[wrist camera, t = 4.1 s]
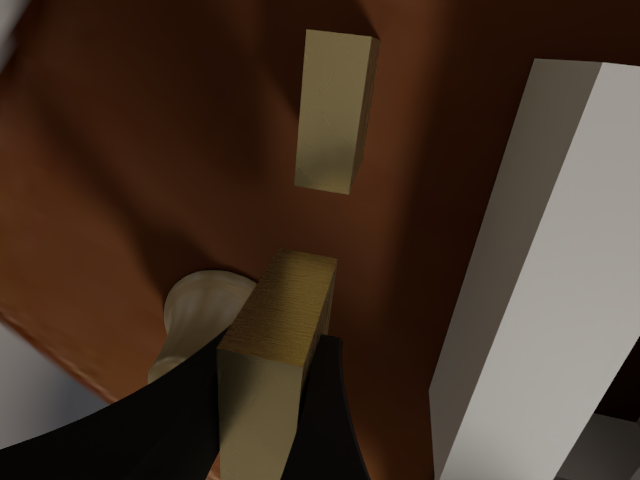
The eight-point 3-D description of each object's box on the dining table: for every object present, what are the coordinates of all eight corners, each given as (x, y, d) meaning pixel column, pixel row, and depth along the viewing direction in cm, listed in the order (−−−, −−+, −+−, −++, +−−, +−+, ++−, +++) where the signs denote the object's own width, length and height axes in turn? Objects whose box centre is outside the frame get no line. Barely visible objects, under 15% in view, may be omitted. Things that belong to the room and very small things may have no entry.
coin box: (646, 439, 22) (724, 563, 17) (428, 389, 23) (435, 489, 18) (892, 99, 14) (1197, 130, 8) (534, 58, 15) (603, 62, 10)
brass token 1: (322, 369, 15) (289, 500, 11) (273, 358, 16) (220, 482, 11) (337, 258, 13) (303, 367, 9) (279, 247, 13) (216, 348, 9)
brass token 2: (362, 160, 18) (348, 194, 14) (320, 153, 19) (294, 185, 14) (380, 41, 16) (371, 36, 12) (333, 35, 16) (306, 29, 12)
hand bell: (281, 392, 26) (134, 799, 12) (165, 356, 27) (-107, 699, 13) (305, 292, 22) (128, 714, 8) (168, 251, 23) (-217, 577, 9)
